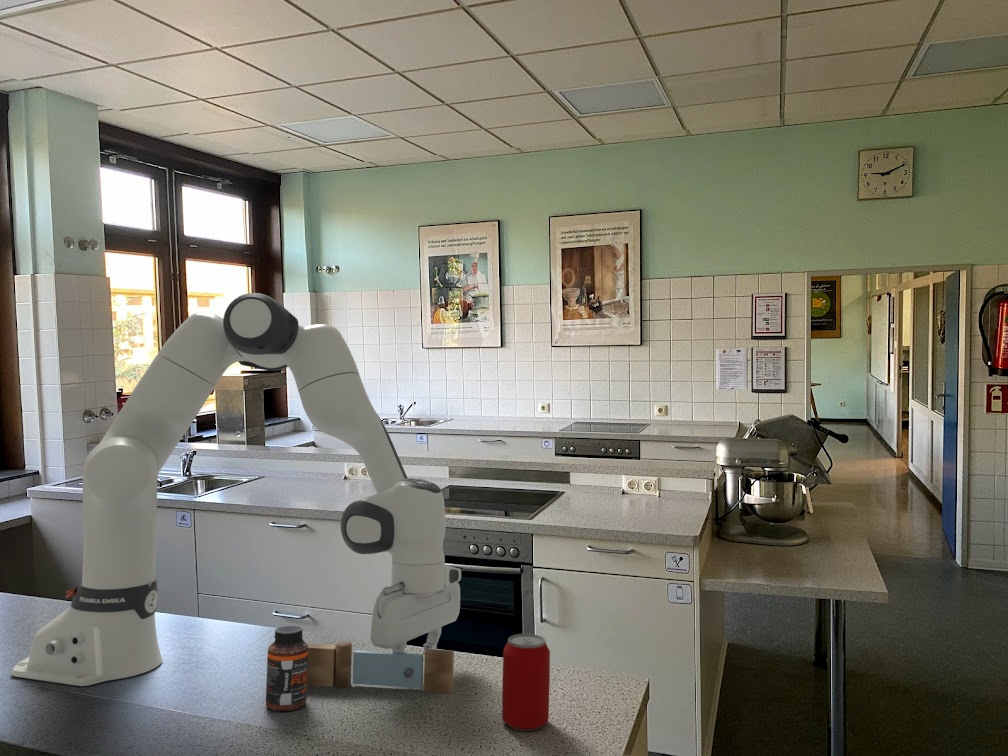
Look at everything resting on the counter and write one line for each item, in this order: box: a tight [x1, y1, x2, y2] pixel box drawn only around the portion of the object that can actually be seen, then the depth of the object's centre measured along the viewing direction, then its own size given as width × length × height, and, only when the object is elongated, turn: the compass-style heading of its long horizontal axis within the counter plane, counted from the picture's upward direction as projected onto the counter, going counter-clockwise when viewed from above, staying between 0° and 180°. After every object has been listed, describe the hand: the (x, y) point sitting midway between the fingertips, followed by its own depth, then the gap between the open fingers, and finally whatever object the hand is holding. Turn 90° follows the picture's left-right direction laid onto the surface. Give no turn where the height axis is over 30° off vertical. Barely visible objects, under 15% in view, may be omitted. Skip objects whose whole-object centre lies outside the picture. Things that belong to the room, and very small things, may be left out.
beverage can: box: [501, 633, 551, 732], centre depth 111 cm, size 7×7×12 cm
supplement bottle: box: [265, 625, 308, 712], centre depth 116 cm, size 6×6×11 cm
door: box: [352, 649, 424, 689], centre depth 123 cm, size 11×2×5 cm, turn 83°
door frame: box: [307, 641, 455, 694], centre depth 124 cm, size 27×3×6 cm, turn 85°
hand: (416, 660), depth 128 cm, fingers open, 6 cm apart
